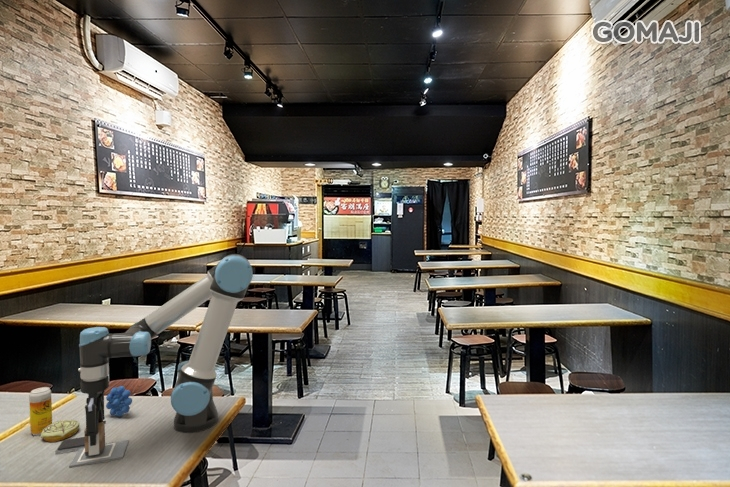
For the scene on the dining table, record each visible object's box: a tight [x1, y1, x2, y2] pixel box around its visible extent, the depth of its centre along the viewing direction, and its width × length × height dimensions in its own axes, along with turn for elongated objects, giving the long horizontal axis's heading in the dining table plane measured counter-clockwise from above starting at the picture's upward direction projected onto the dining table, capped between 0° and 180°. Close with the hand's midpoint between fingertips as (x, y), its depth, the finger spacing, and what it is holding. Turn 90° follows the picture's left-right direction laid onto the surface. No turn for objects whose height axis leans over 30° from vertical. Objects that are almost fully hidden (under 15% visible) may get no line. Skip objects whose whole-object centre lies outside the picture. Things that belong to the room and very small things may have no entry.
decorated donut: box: [40, 419, 80, 443], centre depth 145 cm, size 10×11×4 cm
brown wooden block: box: [83, 422, 106, 456], centre depth 131 cm, size 4×4×8 cm
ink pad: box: [54, 436, 85, 455], centre depth 137 cm, size 9×7×1 cm
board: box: [68, 439, 130, 468], centre depth 132 cm, size 14×11×1 cm
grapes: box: [105, 385, 133, 418], centre depth 159 cm, size 12×7×12 cm, turn 75°
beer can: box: [28, 386, 53, 436], centre depth 147 cm, size 6×6×15 cm
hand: (96, 449), depth 132 cm, fingers closed on brown wooden block, 4 cm apart
